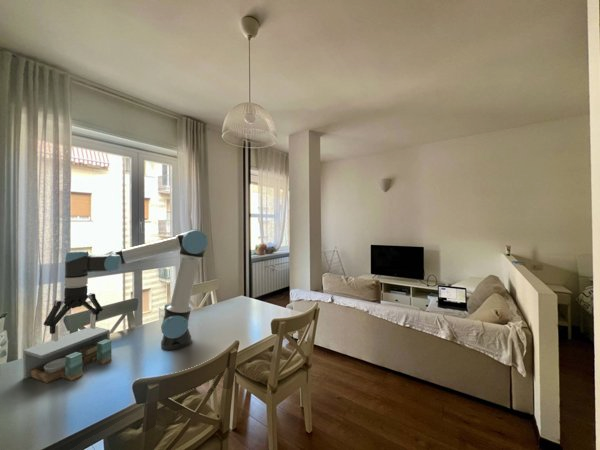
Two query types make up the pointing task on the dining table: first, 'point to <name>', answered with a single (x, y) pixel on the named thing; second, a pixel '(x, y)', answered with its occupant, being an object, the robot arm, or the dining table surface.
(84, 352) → the oak cube
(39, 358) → the shelf
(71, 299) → the robot arm
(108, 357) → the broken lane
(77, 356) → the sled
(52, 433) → the dining table surface
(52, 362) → the ramekin
